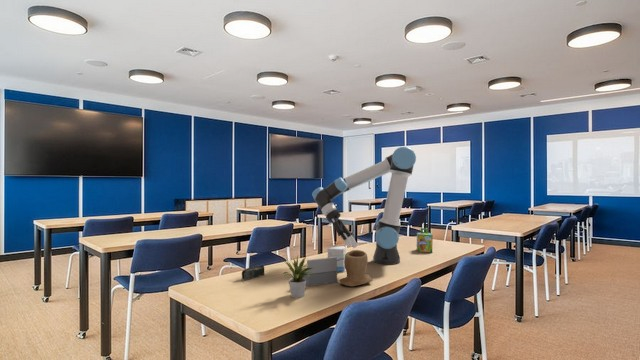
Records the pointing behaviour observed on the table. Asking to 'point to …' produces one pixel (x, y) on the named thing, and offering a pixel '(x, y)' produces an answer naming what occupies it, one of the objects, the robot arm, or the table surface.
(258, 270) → the mobile phone
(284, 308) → the table surface
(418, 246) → the green juice carton
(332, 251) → the ink box
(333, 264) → the step
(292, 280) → the house plant
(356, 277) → the stone cup
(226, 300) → the table surface
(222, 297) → the table surface
